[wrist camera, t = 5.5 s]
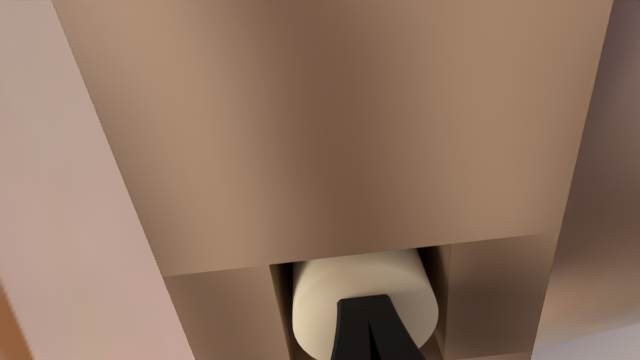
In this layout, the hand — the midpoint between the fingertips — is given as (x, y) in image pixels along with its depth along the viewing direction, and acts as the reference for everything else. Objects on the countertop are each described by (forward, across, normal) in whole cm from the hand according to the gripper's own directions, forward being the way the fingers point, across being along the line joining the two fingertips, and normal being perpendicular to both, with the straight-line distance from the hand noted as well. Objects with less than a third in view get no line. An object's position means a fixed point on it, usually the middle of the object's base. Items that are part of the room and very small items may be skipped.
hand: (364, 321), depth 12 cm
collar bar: (+5, 0, -6) cm, 8 cm away
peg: (+5, 0, 0) cm, 5 cm away
